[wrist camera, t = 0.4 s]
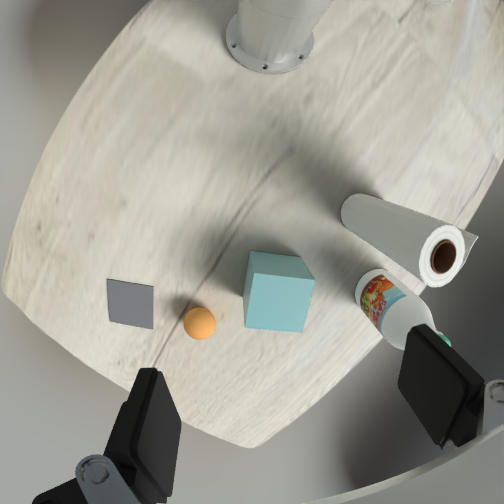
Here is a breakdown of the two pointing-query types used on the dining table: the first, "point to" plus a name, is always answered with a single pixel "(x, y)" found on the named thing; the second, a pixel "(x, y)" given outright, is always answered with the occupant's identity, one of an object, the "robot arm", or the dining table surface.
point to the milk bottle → (392, 306)
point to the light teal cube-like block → (276, 292)
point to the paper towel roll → (409, 237)
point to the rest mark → (130, 303)
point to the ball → (199, 323)
